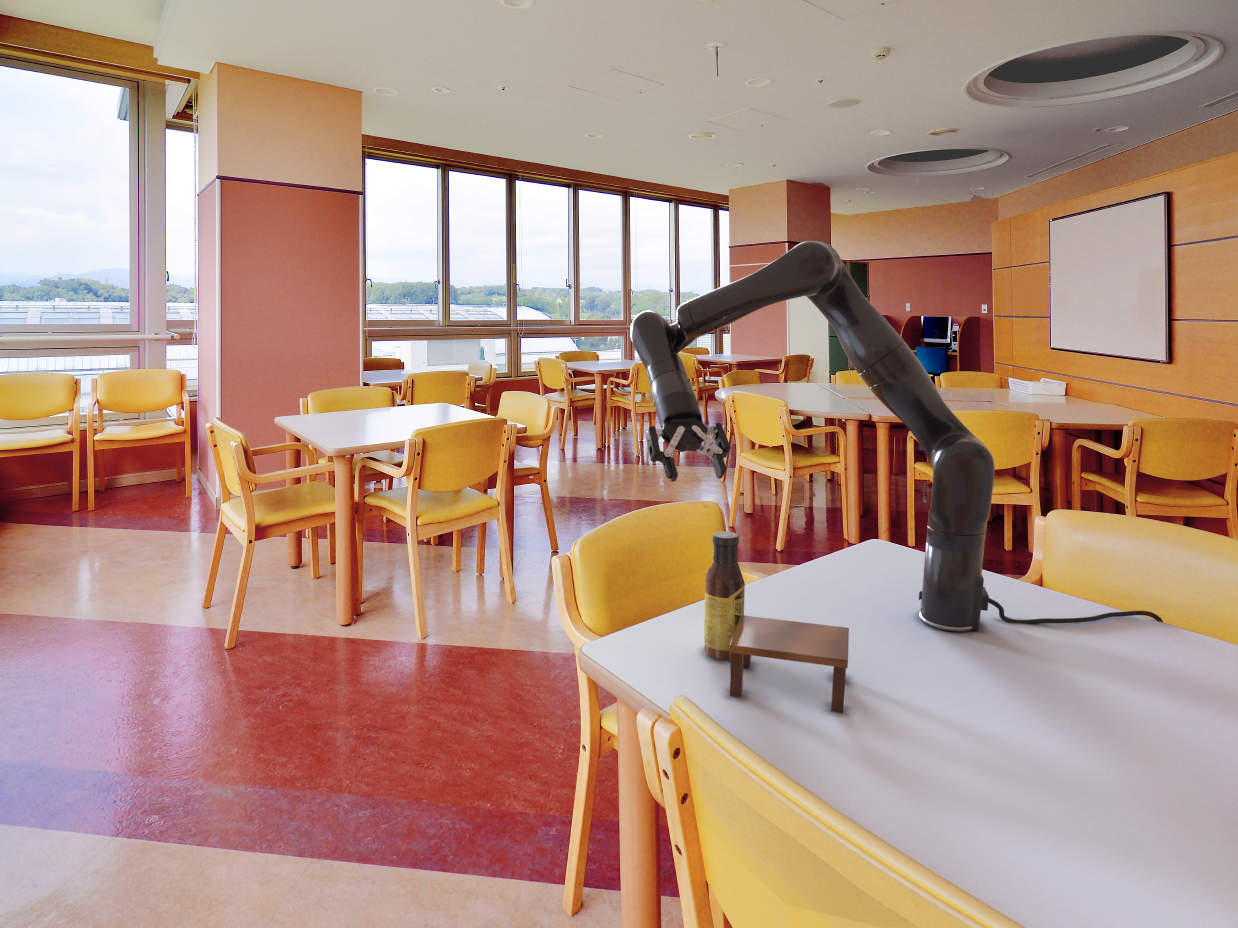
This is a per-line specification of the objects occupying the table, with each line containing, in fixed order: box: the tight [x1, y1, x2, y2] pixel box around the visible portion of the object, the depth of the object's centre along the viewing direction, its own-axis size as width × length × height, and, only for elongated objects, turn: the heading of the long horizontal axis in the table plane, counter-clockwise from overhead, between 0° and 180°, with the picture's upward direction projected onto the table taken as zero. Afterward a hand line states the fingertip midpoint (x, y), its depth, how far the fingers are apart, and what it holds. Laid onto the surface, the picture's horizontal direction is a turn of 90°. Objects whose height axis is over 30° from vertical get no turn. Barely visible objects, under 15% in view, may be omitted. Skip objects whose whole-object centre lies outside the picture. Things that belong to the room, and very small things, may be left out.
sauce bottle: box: [703, 531, 746, 661], centre depth 116 cm, size 7×6×20 cm
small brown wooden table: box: [729, 614, 850, 714], centre depth 107 cm, size 16×11×8 cm
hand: (698, 477), depth 124 cm, fingers open, 8 cm apart
